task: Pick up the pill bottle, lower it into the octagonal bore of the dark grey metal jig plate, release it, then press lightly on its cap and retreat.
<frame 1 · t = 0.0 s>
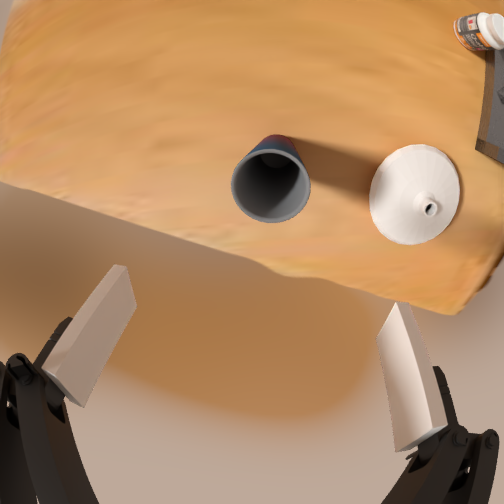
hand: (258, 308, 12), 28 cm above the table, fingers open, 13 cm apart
pill bottle: (465, 34, 19), on the table
lid: (410, 190, 35), on the table
cup: (276, 151, 35), on the table
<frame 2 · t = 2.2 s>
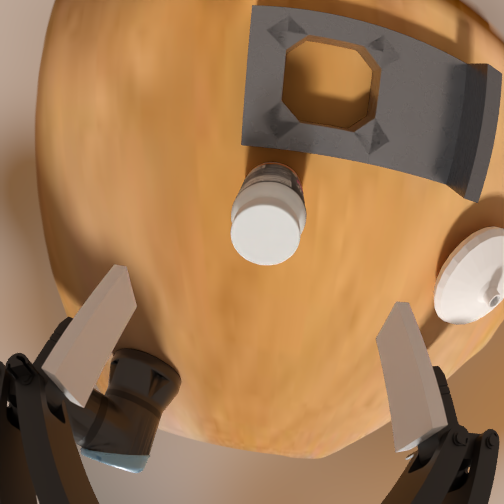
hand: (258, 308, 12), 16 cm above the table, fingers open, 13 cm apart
jig: (370, 93, 20), on the table
pill bottle: (272, 187, 26), on the table
lid: (471, 267, 28), on the table
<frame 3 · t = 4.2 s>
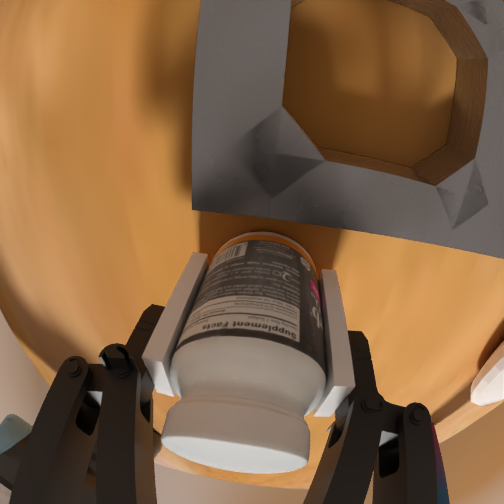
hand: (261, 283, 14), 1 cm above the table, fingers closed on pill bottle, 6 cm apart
jig: (453, 100, 8), on the table
pill bottle: (263, 270, 15), on the table, touching gripper
cup: (418, 429, 28), on the table
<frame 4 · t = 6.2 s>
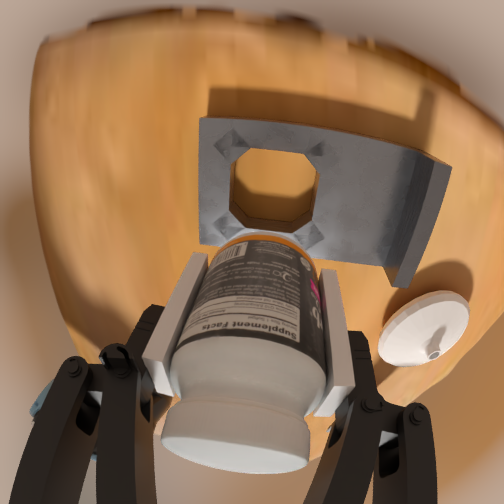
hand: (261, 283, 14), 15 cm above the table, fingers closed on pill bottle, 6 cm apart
jig: (313, 189, 26), on the table
pill bottle: (263, 270, 15), point 14 cm above the table, touching gripper
lid: (420, 319, 35), on the table
when the fingers open (3 cm above the table, at t = 8.3 s): pill bottle drops 2 cm, resting in jig.
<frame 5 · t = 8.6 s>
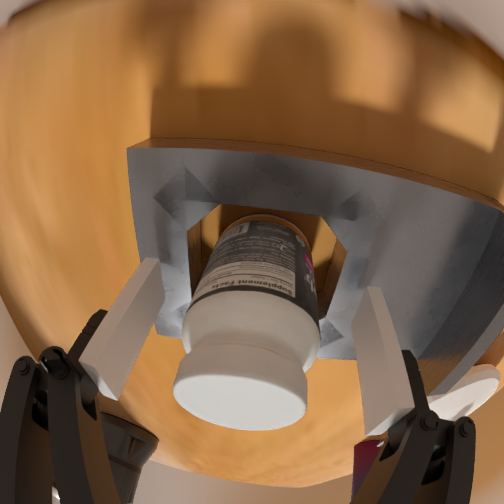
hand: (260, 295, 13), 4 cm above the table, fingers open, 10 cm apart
jig: (330, 261, 16), on the table
pill bottle: (263, 251, 17), resting in jig
lid: (443, 386, 25), on the table
cup: (367, 443, 36), on the table
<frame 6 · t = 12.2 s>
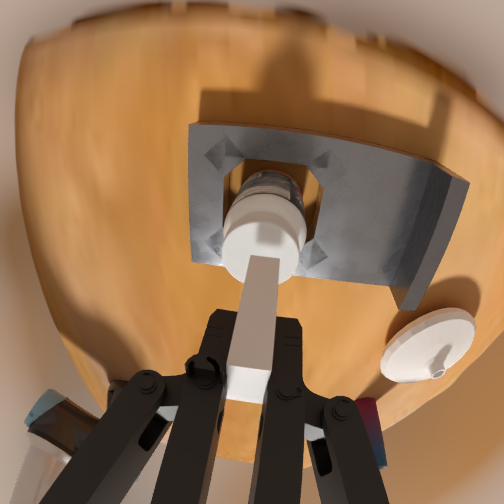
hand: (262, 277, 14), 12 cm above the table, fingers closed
jig: (316, 203, 24), on the table
pill bottle: (270, 196, 24), resting in jig
lid: (424, 335, 32), on the table
cup: (363, 402, 44), on the table
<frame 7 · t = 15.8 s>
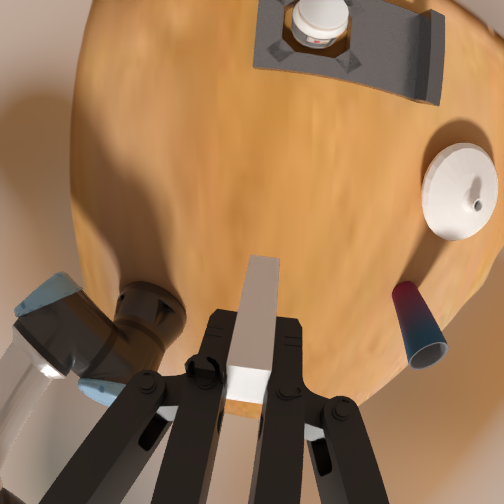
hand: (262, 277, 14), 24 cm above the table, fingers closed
jig: (346, 36, 24), on the table
pill bottle: (313, 31, 24), resting in jig
lid: (454, 186, 32), on the table
cup: (403, 291, 44), on the table
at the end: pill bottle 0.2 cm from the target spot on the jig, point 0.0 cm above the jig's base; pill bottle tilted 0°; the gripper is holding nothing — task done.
